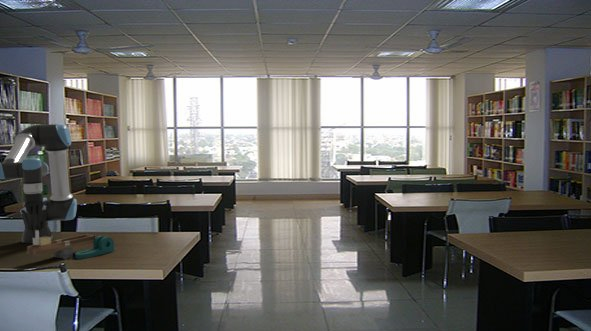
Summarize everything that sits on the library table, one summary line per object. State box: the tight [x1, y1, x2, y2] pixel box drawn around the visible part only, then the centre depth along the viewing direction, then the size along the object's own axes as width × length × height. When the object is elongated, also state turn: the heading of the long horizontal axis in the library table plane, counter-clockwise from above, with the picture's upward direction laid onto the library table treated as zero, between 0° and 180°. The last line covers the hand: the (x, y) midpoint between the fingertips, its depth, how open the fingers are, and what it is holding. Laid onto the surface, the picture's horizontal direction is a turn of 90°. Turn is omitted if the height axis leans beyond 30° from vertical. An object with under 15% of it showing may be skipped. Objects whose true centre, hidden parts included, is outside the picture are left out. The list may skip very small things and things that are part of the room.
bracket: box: [74, 235, 115, 260], centre depth 237 cm, size 18×7×8 cm, turn 146°
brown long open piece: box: [26, 233, 96, 260], centre depth 233 cm, size 9×30×8 cm, turn 149°
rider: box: [35, 236, 52, 247], centre depth 224 cm, size 4×5×5 cm
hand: (36, 244), depth 222 cm, fingers closed
